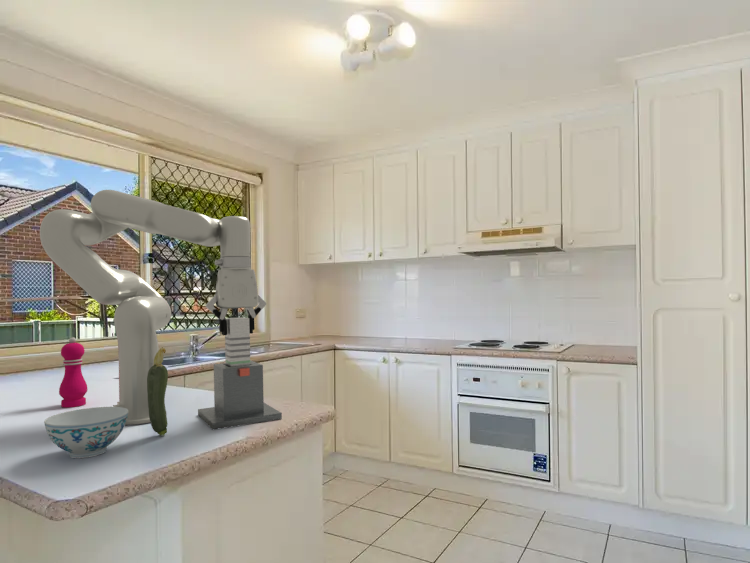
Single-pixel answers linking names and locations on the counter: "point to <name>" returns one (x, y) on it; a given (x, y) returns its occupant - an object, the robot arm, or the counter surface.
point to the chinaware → (86, 429)
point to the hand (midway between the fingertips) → (237, 333)
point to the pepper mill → (73, 376)
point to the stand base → (238, 397)
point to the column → (237, 342)
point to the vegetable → (157, 393)
